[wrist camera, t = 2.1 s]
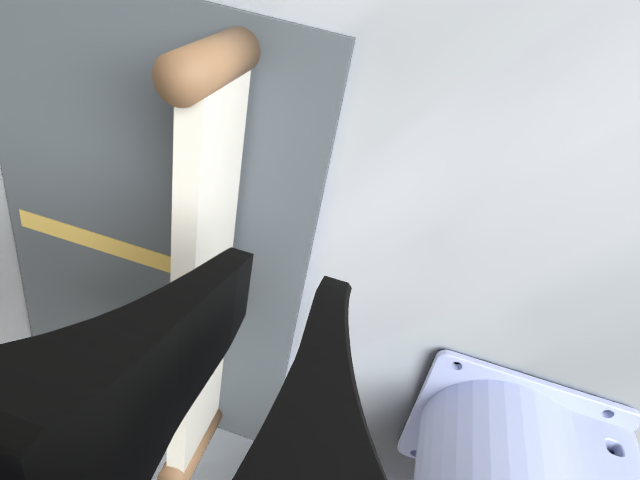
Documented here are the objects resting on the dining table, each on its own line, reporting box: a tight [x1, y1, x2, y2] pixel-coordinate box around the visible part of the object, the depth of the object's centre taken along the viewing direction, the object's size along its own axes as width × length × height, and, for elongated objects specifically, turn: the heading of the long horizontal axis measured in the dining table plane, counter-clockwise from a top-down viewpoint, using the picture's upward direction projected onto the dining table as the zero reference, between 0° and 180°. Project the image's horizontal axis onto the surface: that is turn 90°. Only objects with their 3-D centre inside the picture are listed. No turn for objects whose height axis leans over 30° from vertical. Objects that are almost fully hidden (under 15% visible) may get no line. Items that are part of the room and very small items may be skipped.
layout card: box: [0, 0, 355, 440], centre depth 26 cm, size 16×24×1 cm, turn 169°
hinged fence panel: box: [152, 26, 261, 282], centre depth 19 cm, size 11×2×5 cm, turn 169°
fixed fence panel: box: [157, 357, 224, 480], centre depth 26 cm, size 12×2×6 cm, turn 169°
